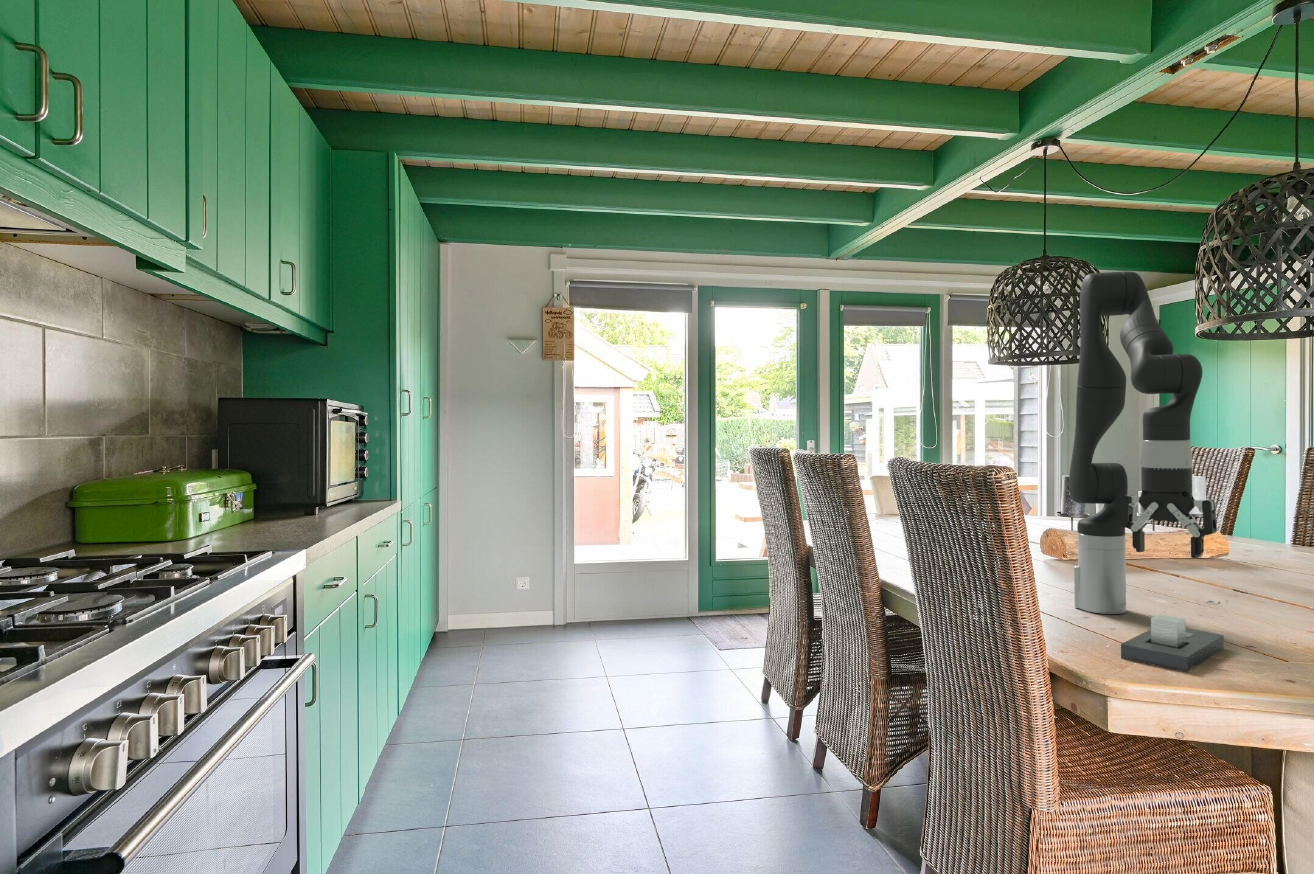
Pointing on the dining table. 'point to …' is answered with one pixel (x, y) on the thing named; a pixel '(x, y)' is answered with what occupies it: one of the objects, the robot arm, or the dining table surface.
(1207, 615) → the dining table surface
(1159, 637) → the grey rectangular block
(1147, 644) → the dark grey flat board
